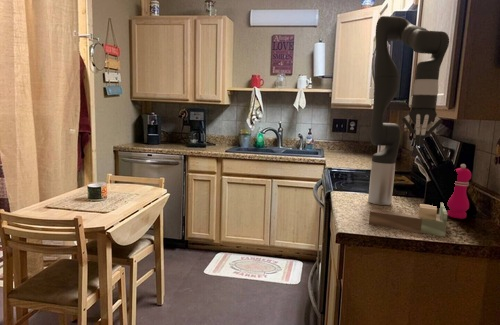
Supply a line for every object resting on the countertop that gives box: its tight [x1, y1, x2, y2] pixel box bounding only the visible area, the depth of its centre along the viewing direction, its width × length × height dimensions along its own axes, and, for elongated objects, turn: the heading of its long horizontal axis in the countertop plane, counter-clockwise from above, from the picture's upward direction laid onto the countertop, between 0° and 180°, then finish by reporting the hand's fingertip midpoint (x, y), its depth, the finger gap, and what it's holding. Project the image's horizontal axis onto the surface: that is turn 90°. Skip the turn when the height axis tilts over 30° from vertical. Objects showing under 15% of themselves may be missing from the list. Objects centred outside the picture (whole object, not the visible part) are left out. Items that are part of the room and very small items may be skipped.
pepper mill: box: [447, 163, 472, 220], centre depth 136 cm, size 7×7×20 cm
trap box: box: [368, 202, 448, 237], centre depth 127 cm, size 17×23×7 cm
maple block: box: [418, 203, 438, 220], centre depth 121 cm, size 5×5×5 cm
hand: (418, 146), depth 124 cm, fingers closed
